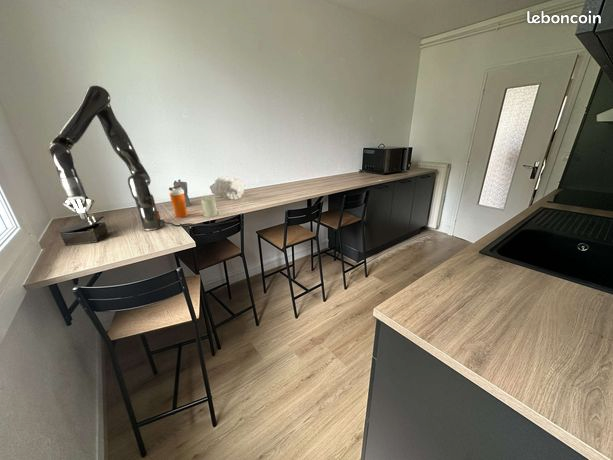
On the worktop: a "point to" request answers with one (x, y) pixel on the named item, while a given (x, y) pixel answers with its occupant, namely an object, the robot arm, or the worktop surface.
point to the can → (209, 206)
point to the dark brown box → (85, 235)
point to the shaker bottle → (178, 201)
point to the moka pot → (184, 187)
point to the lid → (82, 224)
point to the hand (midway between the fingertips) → (85, 218)
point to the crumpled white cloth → (227, 187)
